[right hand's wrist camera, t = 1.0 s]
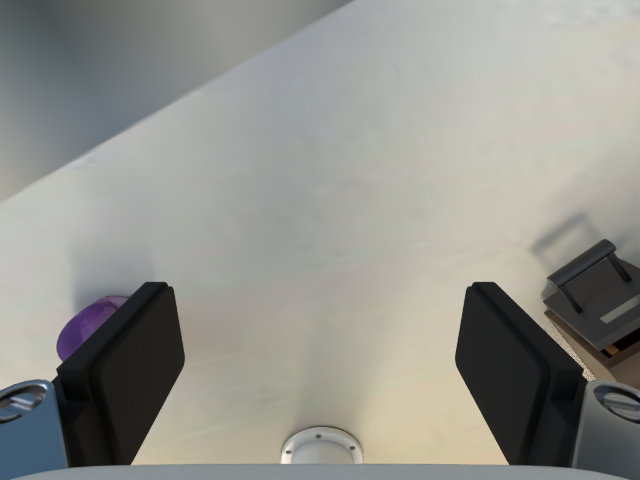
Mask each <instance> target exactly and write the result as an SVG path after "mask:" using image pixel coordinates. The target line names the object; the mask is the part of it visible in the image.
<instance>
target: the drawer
mask: <svg viewBox="0 0 640 480" xmlns="http://www.w3.org/2000/svg"><path fill="white" fill-rule="evenodd" d="M614 251H616V247H615V246H614V245H613V244H612V243H611V242H610V241H608V240H606V239H603V240H602V241H600V242H599V243H597V244H596V245H594V246H593V247H591V248H590V249H588V250H587V251H585V252H584V253H582V254H581V255H580V256H578V257H577V258H575V259H574V260H572V261H571V262H569V263H568V264H566V265H565V266H563V267H562V268H560V269H559V270H558V271H556V272H555V273H553V274H552V275H550V276H549V277H547V280H548V281H549V282H550V283H551V284H552V285H553V286H554V287H555V288H557V289H559V291H558V292H556V293H554V294H553V295H551V296H550V297H548V298H547V299H545V300H544V301H543V302H544V304H545V305H546V306H547V307H548V308H549V309H550V310H551V311H552V312H553V313H555V314H556V315H557V316H558V317H559V318H560V319H562V320H563V321H564V322H565V323H566V324H567V325H569V326H570V327H571V328H572V329H573V330H574V331H576V332H577V333H578V334H579V335H580V336H582V337H583V338H584V339H585V340H586V341H587V342H589V343H590V344H591V345H592V346H593V347H594V348H596V349H597V350H598V351H601V352H602V353H603V354H604V355H606V356H607V357H608V358H609V359H610V358H611V357H613V356H615V355H616V354H618V353H620V352H621V351H623V350H625V349H626V348H628V347H630V346H632V345H633V344H635V343H637V342H638V341H640V268H638V267H635V266H633V265H631V264H629V263H627V262H625V261H623V260H621V259H619V258H617V256H616V255H615V253H614ZM605 257H607V259H606V260H604V261H603V262H601V263H600V264H598V265H597V266H595V267H594V268H592V269H591V270H589V271H588V272H586V273H585V274H583V275H582V276H580V277H579V278H577V279H576V280H574V281H573V282H571V283H570V284H568V285H567V286H564V285H565V284H566V283H568V282H569V281H571V280H572V279H574V278H575V277H577V276H578V275H580V274H581V273H583V272H584V271H586V270H587V269H589V268H590V267H592V266H593V265H595V264H596V263H598V262H599V261H601V260H602V259H604V258H605Z"/></svg>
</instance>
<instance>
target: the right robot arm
mask: <svg viewBox="0 0 640 480" xmlns="http://www.w3.org/2000/svg"><path fill="white" fill-rule="evenodd" d="M184 362H185V354H184V348H183V342H182V336H181V330H180V324H179V318H178V312H177V306H176V300H175V294H174V289H173V287H171V286H168V284H167V283H166V282H146V283H144V284H143V285H142V286H141V287H140V288H139V289H138V290H137V291H136V292H135V293H134V294H133V295H132V296H131V297H130V298H129V299H128V300H127V301H126V302H125V303H124V304H123V305H121V306H120V307H119V308H118V309H117V310H116V311H115V312H114V313H113V314H112V315H111V316H110V317H109V318H108V319H107V320H106V321H105V322H104V323H103V324H102V325H101V326H100V327H99V328H98V329H97V330H96V331H95V332H94V333H93V334H92V335H91V336H90V337H89V338H88V339H87V340H86V341H85V342H84V343H82V344H81V345H80V346H79V347H78V348H77V349H76V350H75V351H74V352H73V353H72V354H71V355H70V356H69V357H68V358H67V359H66V360H65V361H64V362H63V363H62V364H61V365H60V366H59V367H58V368H57V369H56V370H57V373H58V376H57V377H56V378H55V379H54V380H53V381H52V382H49V381H47V380H38V379H36V380H30V381H24V382H21V383H18V384H14V385H12V386H10V387H7V388H5V389H3V390H1V391H0V480H640V391H639V390H637V389H635V388H633V387H630V386H628V385H626V384H622V383H619V382H616V381H610V380H604V379H602V380H593V381H591V382H588V381H587V380H586V379H585V378H584V377H583V376H582V373H583V370H584V369H583V368H582V367H581V366H580V365H579V364H578V363H577V362H576V361H575V360H574V359H573V358H572V357H571V356H570V355H569V354H568V353H567V352H566V351H565V350H564V349H563V348H562V347H561V346H560V345H559V344H558V343H556V342H555V341H554V340H553V339H552V338H551V337H550V336H549V335H548V334H547V333H546V332H545V331H544V330H543V329H542V328H541V327H540V326H539V325H538V324H537V323H536V322H535V321H534V320H533V319H532V318H531V317H530V316H529V315H528V314H527V313H526V312H525V311H524V310H523V309H522V308H521V307H520V306H519V305H517V304H516V303H515V302H514V301H513V300H512V299H511V298H510V297H509V296H508V295H507V294H506V293H505V292H504V291H503V290H502V289H501V288H500V287H499V286H498V285H497V284H496V283H494V282H474V283H473V284H472V286H469V287H467V289H466V294H465V300H464V306H463V312H462V318H461V324H460V330H459V336H458V342H457V348H456V354H455V362H456V366H457V369H458V370H459V372H460V374H461V376H462V378H463V380H464V382H465V384H466V385H467V387H468V389H469V391H470V393H471V395H472V397H473V398H474V400H475V402H476V404H477V406H478V408H479V410H480V411H481V413H482V415H483V417H484V419H485V421H486V423H487V425H488V426H489V428H490V430H491V432H492V434H493V436H494V438H495V439H496V441H497V443H498V445H499V447H500V449H501V451H502V453H503V454H504V456H505V458H506V460H507V462H508V463H509V465H468V464H363V461H364V460H363V452H362V449H361V446H360V445H359V443H358V442H357V441H356V440H355V439H354V438H353V437H352V436H351V435H349V434H348V433H346V432H343V431H341V430H338V429H334V428H329V427H315V428H310V429H306V430H303V431H301V432H299V433H297V434H295V435H294V436H292V437H291V438H290V439H289V440H288V441H287V442H286V443H285V445H284V447H283V449H282V453H281V464H172V465H131V463H132V462H133V460H134V458H135V456H136V454H137V453H138V451H139V449H140V447H141V445H142V443H143V441H144V439H145V438H146V436H147V434H148V432H149V430H150V428H151V426H152V425H153V423H154V421H155V419H156V417H157V415H158V413H159V411H160V410H161V408H162V406H163V404H164V402H165V400H166V398H167V397H168V395H169V393H170V391H171V389H172V387H173V385H174V384H175V382H176V380H177V378H178V376H179V374H180V372H181V370H182V369H183V366H184Z"/></svg>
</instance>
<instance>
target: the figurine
mask: <svg viewBox="0 0 640 480" xmlns="http://www.w3.org/2000/svg"><path fill="white" fill-rule="evenodd" d="M128 299H129V298H126V297H118V296H117V297H116V296H107V297H104V298H101V299H99V300H98V301H96V302H95V303H93V304H92V305H90V306H88V307H86V308H85V309H84V310H82V311H81V312H80V313H78V314H77V315H76V316H75V317H73V318H72V319H71V320H70V321H69V322H68V323H67V324H66V326H65V327H64V328H63V330H62V331H61V333H60V335H59V338H58V341H57V353H58V355H59V357H60V359H61V360H62V361H63V362H64V361H65V360H66V359H67V358H68V357H69V356H70V355H71V354H72V353H73V352H74V351H75V350H76V349H77V348H78V347H79V346H80V345H81V344H82V343H84V342H85V341H86V340H87V339H88V338H89V337H90V336H91V335H92V334H93V333H94V332H95V331H96V330H97V329H98V328H99V327H100V326H101V325H102V324H103V323H104V322H105V321H106V320H107V319H108V318H109V317H110V316H111V315H112V314H113V313H114V312H115V311H116V310H117V309H118V308H119V307H120V306H121V305H123V304H124V303H125V302H126V301H127V300H128Z"/></svg>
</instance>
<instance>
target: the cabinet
mask: <svg viewBox="0 0 640 480" xmlns="http://www.w3.org/2000/svg"><path fill="white" fill-rule="evenodd" d="M544 314H545V315H546V316H547V318H548V319H549V320H550V321H551V323H552V324H553V325H554V326H555V328H556V329H557V330H558V331H559V333H560V334H561V335H562V336H563V338H564V339H565V340H566V341H567V343H568V344H569V345H570V346H571V348H572V349H573V350H574V352H575V353H576V354H577V355H578V357H579V358H580V359H581V360H582V362H583V363H584V364H585V365H586V367H587V368H588V369H589V370H590V372H591V373H592V374H593V375H594V377H595V378H596V379H597V380H602V379H604V380H610V381H616V382H619V383H622V384H626V385H628V386H630V387H633V388H635V389H637V390H639V391H640V341H638V342H637V343H635V344H633V345H632V346H630V347H628V348H626V349H625V350H623V351H621V352H620V353H618V354H616V355H615V356H613V357H611V358H610V359H609V358H608V357H607V356H606V355H604V354H603V353H602V352H601V351H598V350H597V349H596V348H594V347H593V346H592V345H591V344H590V343H589V342H587V341H586V340H585V339H584V338H583V337H582V336H580V335H579V334H578V333H577V332H576V331H574V330H573V329H572V328H571V327H570V326H569V325H567V324H566V323H565V322H564V321H563V320H562V319H560V318H559V317H558V316H557V315H556V314H555V313H553V312H552V311H551V310H549V311H547V312H545V313H544Z"/></svg>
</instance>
